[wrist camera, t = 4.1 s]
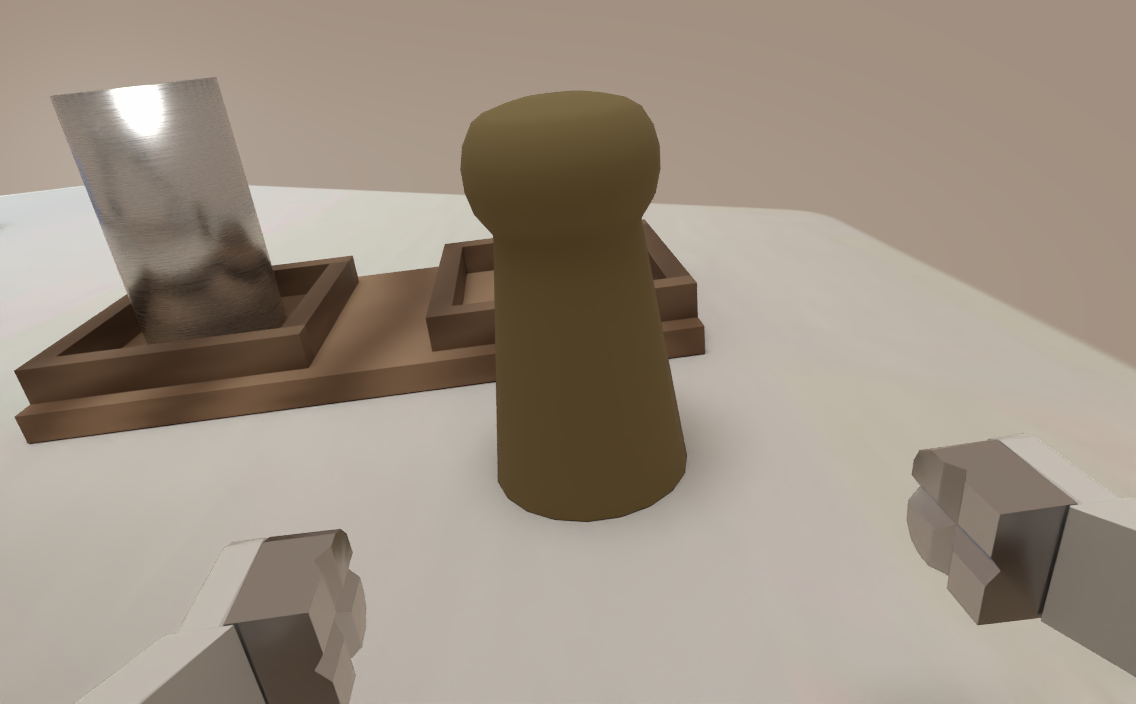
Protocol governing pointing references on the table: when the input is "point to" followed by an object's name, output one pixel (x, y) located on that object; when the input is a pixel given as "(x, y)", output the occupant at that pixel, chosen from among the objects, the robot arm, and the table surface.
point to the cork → (575, 304)
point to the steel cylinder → (174, 207)
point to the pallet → (305, 347)
